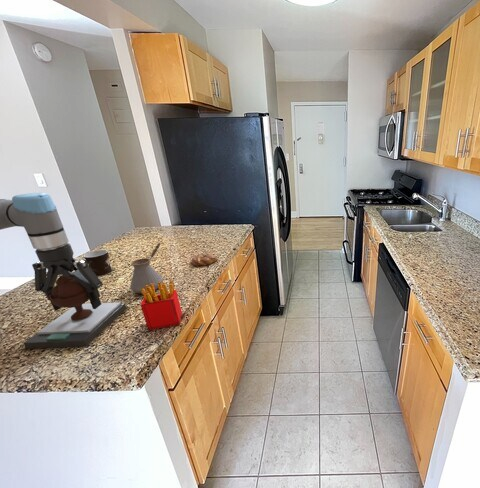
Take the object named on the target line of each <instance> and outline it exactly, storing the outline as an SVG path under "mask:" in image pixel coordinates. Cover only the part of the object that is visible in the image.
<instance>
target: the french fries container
mask: <svg viewBox="0 0 480 488" xmlns="http://www.w3.org/2000/svg"><path fill="white" fill-rule="evenodd" d="M150 286H151V287H149V286H148V285H146V286H145V288H146V291H145V289H141V292H142V293H143V294H142V296H143V299H142V301H141V303H140V309H141V311H142V314H143V319H144V321H145V324H146V327H147V330H148V331H153V330H158V329H162V328H168V327H172V326H177V325H178V326H179V325H180V324H181V321H182V316H183V313H182V308H181V307H182V306H181V303H180V298H179V295H178V291H177V289H175V285H174V280H170V281H169V284H168V287H167V284H166V283H162V284H161V282H158V291H159V294H156V290H155V288H154V284H150ZM168 291H169V292H168Z"/></svg>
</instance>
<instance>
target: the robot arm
mask: <svg viewBox="0 0 480 488" xmlns="http://www.w3.org/2000/svg"><path fill="white" fill-rule="evenodd" d="M14 227H22V228H24V230H25V233H26V234H27V236H28V239H29V241H30V243H31V246H32V248H33V249H35V254H36V256H37V259H38V261H37V262H34V263H33V264H31V266H32V268H33V271H34V290H35V291H36V292H42V293H43V294H45V296H46V298H47V300H48V301H49V302H50V304H51V306H52V308H53V310H54V311H55V312H57V311H59V310H60V309H62V308H63V307H58V306H55V305H54V304H52V303H51V301H50V300H49V298H48V296H49V295H50V294H51V291H52V289H53V288H54V287H55V286H56V281H57V280H58V278H59V276H61V275H67V276H69V277H72V278H74V279H75V280H76V281H77V282H79V283H80V284H81V285H82V286H84V287H85V288H86V289H87V290H89V291H87V292H86V293H87V295H88V298H89V300H88V301H90V303H91V305H92V307H93V309H96V308H98V307H99V306H100V305H101V303H102V301H101V299H100V298H101V294H100V290H99V289H100V288H101V287H102V286H104V283H103V282H102V281H101V279H100V278H99V276H96V274H95V273H94V272H93V271H92V270H91V268H90V267H89V265H88V263H87V261H86V260H85V258H83V259H81V260H76V259H75V258H74V253H75V252H74V251H73V248H72V245H71V244H70V243H69V238H68V236H67V233H66V230H65V229H64V225H63V223H62V220H61V217H60V215H59V212H58V210H57V206H56V204H55V203H54V201H53V198H52V196H51V195H50V194H48V193H47V192H31V193H29V192H28V193H22V194H16V195H14V196H12V197H11V199H6V198H0V230H5V229H9V228H14ZM91 286H92V287H91Z"/></svg>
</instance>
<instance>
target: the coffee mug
mask: <svg viewBox="0 0 480 488" xmlns="http://www.w3.org/2000/svg"><path fill="white" fill-rule="evenodd" d="M83 259H85V260H86V261H87V263H88V266H89V267H90V268H91V270H92V271H93V272H94V273H95V274H96V276H97V277H100V276H105V275H107V274H110V273H111V272H112V266H111V260H110V255H109V250H107V249H97V250H92V251H88V252H86V253H85V254H84V255H83Z"/></svg>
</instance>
